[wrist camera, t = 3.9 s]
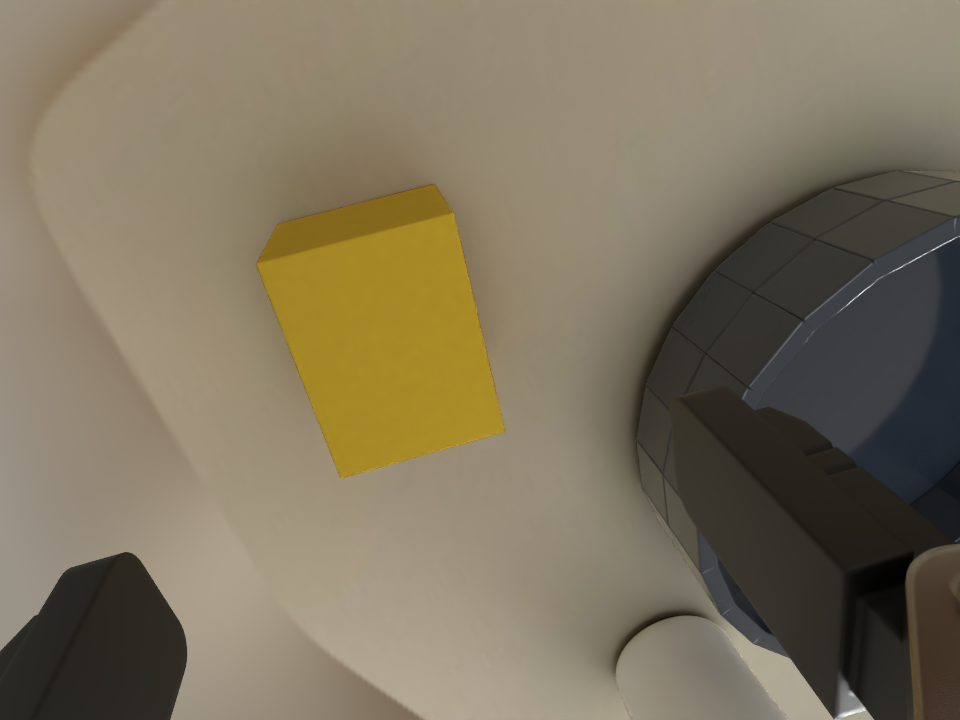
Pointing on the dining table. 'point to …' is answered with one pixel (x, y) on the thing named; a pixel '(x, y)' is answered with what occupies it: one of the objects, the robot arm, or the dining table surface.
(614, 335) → the dining table surface
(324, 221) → the sponge
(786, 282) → the bowl
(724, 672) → the drinking glass
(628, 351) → the dining table surface
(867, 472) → the robot arm
